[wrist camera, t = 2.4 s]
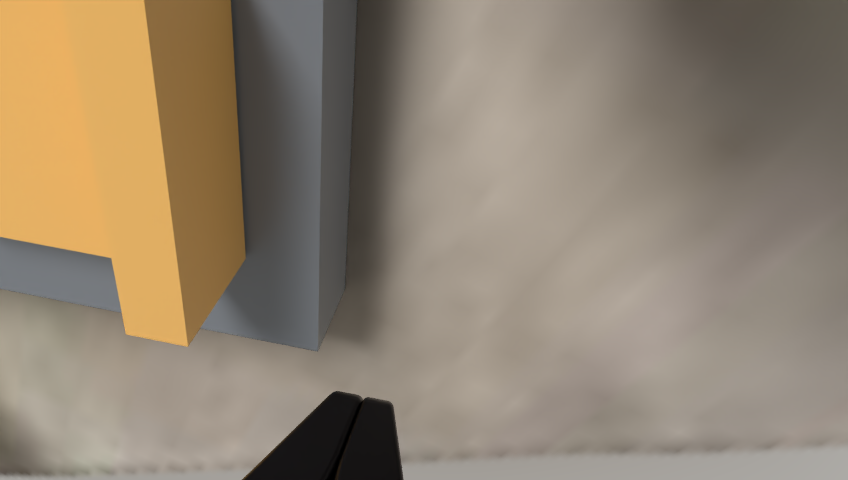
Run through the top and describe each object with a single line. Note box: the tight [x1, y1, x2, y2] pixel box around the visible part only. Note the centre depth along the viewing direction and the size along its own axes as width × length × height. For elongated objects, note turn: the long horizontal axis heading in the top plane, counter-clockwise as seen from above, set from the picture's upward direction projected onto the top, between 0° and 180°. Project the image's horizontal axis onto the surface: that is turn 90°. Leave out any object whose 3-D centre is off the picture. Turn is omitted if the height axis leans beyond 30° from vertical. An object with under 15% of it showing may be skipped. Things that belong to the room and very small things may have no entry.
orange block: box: [0, 0, 246, 347], centre depth 16 cm, size 8×8×4 cm
